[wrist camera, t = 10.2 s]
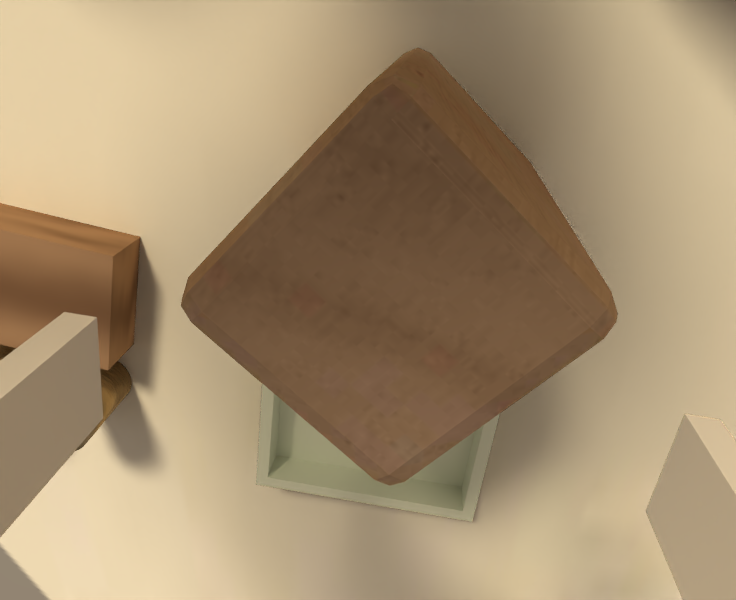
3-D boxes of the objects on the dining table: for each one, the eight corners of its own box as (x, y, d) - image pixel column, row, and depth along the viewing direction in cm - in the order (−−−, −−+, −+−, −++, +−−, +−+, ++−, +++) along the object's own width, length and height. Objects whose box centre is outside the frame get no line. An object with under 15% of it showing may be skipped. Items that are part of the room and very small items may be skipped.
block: (418, 38, 33) (391, 59, 15) (539, 172, 36) (642, 329, 17) (296, 168, 37) (156, 310, 19) (412, 282, 39) (388, 508, 21)
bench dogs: (-15, 337, 44) (-78, 381, 39) (130, 361, 44) (86, 409, 38) (-8, 380, 46) (-69, 428, 40) (132, 403, 45) (90, 455, 40)
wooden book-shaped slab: (-38, 192, 40) (-85, 208, 37) (142, 235, 40) (112, 256, 37) (-31, 301, 44) (-73, 326, 40) (136, 341, 44) (108, 370, 40)
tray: (280, 268, 40) (268, 286, 37) (516, 305, 39) (522, 326, 36) (266, 457, 46) (255, 484, 43) (470, 491, 45) (472, 521, 43)
